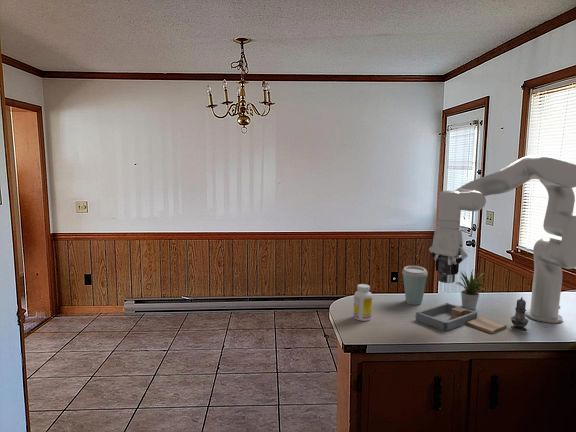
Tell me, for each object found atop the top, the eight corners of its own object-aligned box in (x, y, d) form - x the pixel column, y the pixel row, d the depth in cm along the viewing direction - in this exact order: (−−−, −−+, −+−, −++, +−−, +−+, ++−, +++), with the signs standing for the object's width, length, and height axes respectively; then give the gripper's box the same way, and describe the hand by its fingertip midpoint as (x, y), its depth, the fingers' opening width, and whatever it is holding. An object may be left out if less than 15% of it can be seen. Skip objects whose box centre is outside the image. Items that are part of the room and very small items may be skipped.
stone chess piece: (527, 333, 152) (530, 300, 151) (509, 329, 155) (512, 297, 154) (528, 327, 157) (531, 296, 156) (510, 324, 160) (513, 293, 159)
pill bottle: (455, 284, 156) (457, 253, 155) (438, 283, 157) (440, 253, 156) (453, 279, 162) (454, 250, 160) (436, 278, 163) (438, 249, 162)
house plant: (447, 309, 175) (450, 271, 172) (447, 299, 187) (450, 263, 185) (485, 315, 170) (489, 275, 167) (483, 304, 182) (486, 267, 180)
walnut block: (456, 316, 168) (457, 306, 167) (466, 319, 164) (466, 309, 164) (450, 318, 165) (451, 308, 165) (460, 321, 162) (460, 311, 162)
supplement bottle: (373, 317, 165) (374, 284, 163) (368, 322, 159) (370, 289, 157) (356, 314, 168) (357, 282, 166) (351, 319, 162) (352, 286, 160)
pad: (480, 319, 165) (480, 316, 165) (506, 327, 157) (506, 325, 157) (466, 324, 159) (466, 322, 159) (492, 333, 151) (492, 331, 151)
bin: (446, 309, 175) (446, 302, 174) (476, 319, 164) (477, 312, 164) (415, 319, 163) (416, 312, 162) (445, 331, 152) (446, 323, 152)
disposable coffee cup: (429, 306, 178) (431, 271, 176) (403, 306, 178) (405, 271, 176) (421, 298, 188) (424, 265, 186) (397, 298, 188) (399, 264, 186)
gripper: (422, 222, 161) (420, 269, 164) (464, 228, 148) (462, 279, 150) (434, 220, 166) (432, 266, 168) (476, 226, 152) (473, 275, 155)
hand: (446, 271), depth 159 cm, fingers closed on pill bottle, 6 cm apart
